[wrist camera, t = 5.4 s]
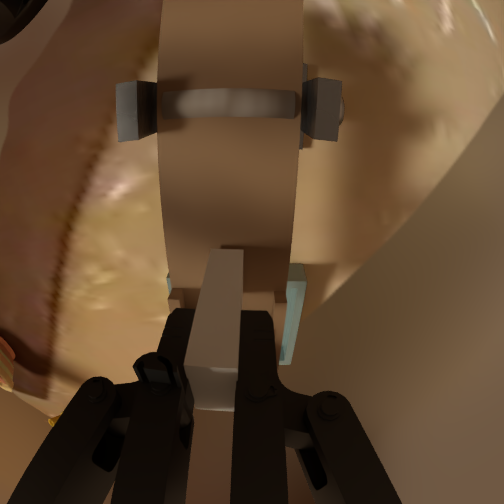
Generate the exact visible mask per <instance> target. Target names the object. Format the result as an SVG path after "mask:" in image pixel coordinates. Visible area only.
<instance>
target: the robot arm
mask: <svg viewBox="0 0 504 504" xmlns="http://www.w3.org/2000/svg"><path fill="white" fill-rule="evenodd" d="M47 1H48V0H0V44H3V43H5V42H7V41H9V40H10V39H12V38H13V37H14V36H16V35H17V34H18V33H19V32H21V31H22V30H23V29H24V28H25V27H26V26H27V25H28V24H29V23H30V22H31V20H32V19H33V18H34V17H35V16H36V15H37V14H38V12H39V11H40V10H41V9H42V7H43V6H44V5H45V3H46V2H47ZM243 251H244V250H240V249H211V251H210V255H209V259H208V263H207V266H206V270H205V274H204V278H203V282H202V286H201V290H200V295H199V299H198V303H197V307H196V309H188V308H175V310H174V311H173V312H172V313H171V314H170V315H169V316H168V318H167V321H166V324H165V329H164V330H163V333H162V337H161V340H160V343H159V346H158V349H157V352H150V353H147V354H144V355H142V356H141V357H140V358H138V359H137V360H136V362H135V363H134V365H133V369H134V371H135V373H136V375H137V377H138V379H139V381H136V382H132V383H125V384H116V385H114V384H113V382H111V381H110V380H109V379H108V378H104V377H101V376H100V377H93V378H90V379H88V380H87V381H86V382H85V383H83V384H82V386H81V387H80V388H79V390H78V391H77V393H76V394H75V395H74V397H73V398H72V400H71V401H70V403H69V404H68V405H67V407H66V408H65V410H64V411H63V413H62V414H61V416H60V417H59V419H58V420H57V422H56V423H55V425H54V426H53V428H52V429H51V431H50V432H49V434H48V435H47V437H46V438H45V440H44V441H43V443H42V445H41V446H40V448H39V449H38V451H37V453H36V454H35V456H34V457H33V459H32V461H31V462H30V464H29V466H28V467H27V469H26V471H25V472H24V474H23V476H22V478H21V479H20V481H19V483H18V484H17V486H16V488H15V490H14V492H13V493H12V495H11V497H10V499H9V501H8V503H7V504H103V502H104V500H105V498H106V496H107V494H108V493H109V491H110V489H111V487H112V485H113V483H114V481H115V483H114V488H113V493H112V499H111V504H185V499H186V489H187V480H188V470H189V462H190V453H191V444H192V436H193V428H194V418H193V408H194V405H195V408H196V409H206V410H218V411H234V425H233V447H232V468H231V469H232V470H231V493H230V504H288V486H287V468H286V451H285V446H287V447H291V448H294V449H295V452H296V454H297V457H298V459H299V462H300V464H301V467H302V470H303V472H304V475H305V478H306V480H307V483H308V485H309V488H310V490H311V493H312V495H313V498H314V500H315V503H316V504H402V503H401V500H400V499H399V497H398V495H397V493H396V491H395V489H394V487H393V485H392V483H391V481H390V479H389V477H388V475H387V473H386V471H385V469H384V467H383V465H382V463H381V461H380V459H379V458H378V456H377V454H376V452H375V450H374V448H373V446H372V444H371V442H370V440H369V439H368V437H367V435H366V433H365V431H364V429H363V427H362V425H361V423H360V421H359V420H358V418H357V416H356V414H355V412H354V410H353V408H352V407H351V404H350V403H349V401H348V400H347V399H346V398H345V397H344V396H342V395H341V394H339V393H338V392H332V391H323V392H320V393H317V394H316V395H314V396H313V397H312V396H308V395H303V394H299V393H296V392H293V391H291V390H289V389H287V388H286V387H285V386H284V385H283V384H282V383H281V381H280V380H279V377H278V373H277V360H276V348H275V335H274V323H273V319H272V317H271V316H270V314H269V313H268V311H264V310H242V305H243Z"/></svg>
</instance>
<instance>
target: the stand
mask: <svg viewBox="0 0 504 504" xmlns="http://www.w3.org/2000/svg"><path fill="white" fill-rule="evenodd" d="M341 91H342V81H339V80H332V79H326V78H319V77H318V78H315V79H312V80H309V81H307V64H304V63H303V74H302V102H301V124H300V142H299V149H303V135H304V133H305V134H307V135H309V136H310V137H312V138H313V139H317V140H327V141H336V142H337V140H338V130H339V126H340V125H341V123H342V121H343V117H344V100H343V98H342V97H341ZM116 109H117V128H118V142H123V141H131V140H139V139H142V138H144V137H146V136H149V135H151V134H154V133H156V132H157V83H155V82H147V81H138V80H136V81H130V82H125V83H120V84H116Z"/></svg>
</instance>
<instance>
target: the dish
mask: <svg viewBox="0 0 504 504" xmlns="http://www.w3.org/2000/svg"><path fill="white" fill-rule="evenodd" d="M167 284H168V289H169V294H170V292H171V290H172V289H171V282H170V275H169V273H168V275H167ZM306 286H307V279H306V275H305V271H304V268H303V264H289V272H288V281H287V289H286V298H287V310H286V318H285V325H284V332H283V339H282V346H281V353H280V360H279V365H289V364H290V363H291V359H292V355H293V350H294V346H295V341H296V336H297V332H298V327H299V322H300V317H301V312H302V307H303V302H304V297H305V291H306Z"/></svg>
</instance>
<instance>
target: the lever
mask: <svg viewBox="0 0 504 504" xmlns="http://www.w3.org/2000/svg"><path fill="white" fill-rule="evenodd" d="M302 74H303V0H163V7H162V16H161V26H160V38H159V54H158V76H157V140H158V164H159V181H160V195H161V207H162V218H163V228H164V237H165V245H166V253H167V261H168V268H169V275H170V282H171V289H172V290H171V292H170V295H169V297H168V304H169V309H170V314H171V313H172V312H173V311H174V310H175V308H188V309H196V307H197V303H198V299H199V295H200V290H201V286H202V282H203V278H204V274H205V270H206V266H207V263H208V259H209V255H210V251H211V249H240V250H244V251H243V305H242V310H264V311H268V313H269V314H270V316H271V317H272V319H273V323H274V335H275V348H276V360H277V372H278V366H279V360H280V353H281V346H282V339H283V332H284V325H285V318H286V310H287V298H286V289H287V281H288V272H289V262H290V253H291V243H292V233H293V222H294V210H295V198H296V186H297V172H298V158H299V142H300V124H301V102H302Z"/></svg>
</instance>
